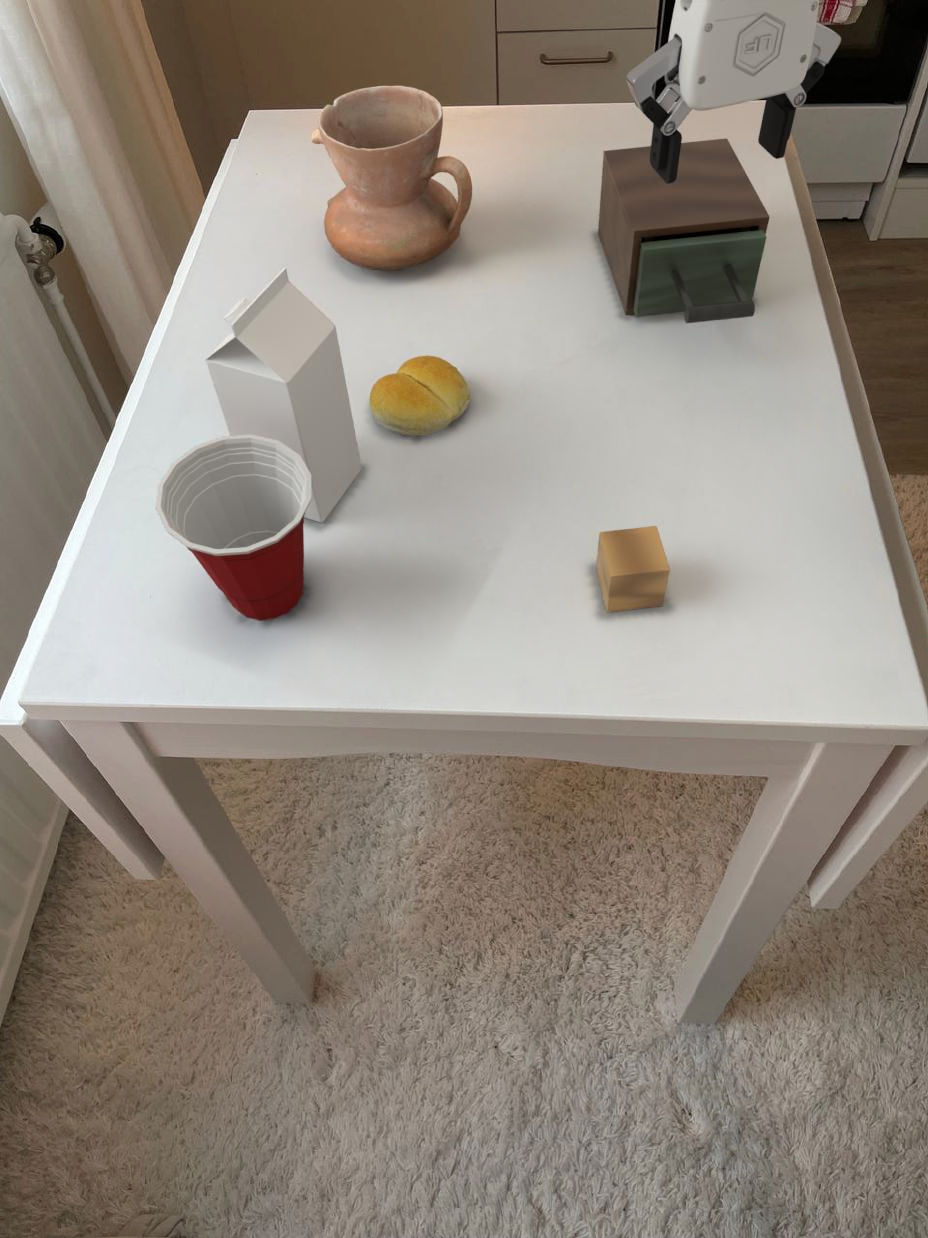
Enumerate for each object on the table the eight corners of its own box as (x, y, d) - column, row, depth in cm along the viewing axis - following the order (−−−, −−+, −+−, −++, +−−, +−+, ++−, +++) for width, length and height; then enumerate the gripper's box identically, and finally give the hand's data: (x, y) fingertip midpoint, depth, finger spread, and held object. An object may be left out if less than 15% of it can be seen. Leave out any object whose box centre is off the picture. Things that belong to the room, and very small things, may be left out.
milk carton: (363, 469, 83) (327, 277, 68) (322, 525, 80) (275, 335, 64) (293, 447, 85) (243, 257, 70) (250, 501, 82) (188, 312, 66)
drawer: (773, 351, 89) (791, 282, 83) (652, 364, 88) (661, 296, 83) (715, 228, 101) (727, 161, 95) (608, 239, 101) (614, 172, 95)
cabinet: (750, 302, 95) (770, 216, 87) (625, 315, 94) (634, 230, 87) (712, 221, 103) (727, 137, 96) (597, 233, 103) (603, 150, 96)
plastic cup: (246, 674, 71) (203, 572, 61) (176, 588, 76) (126, 482, 67) (364, 598, 75) (341, 491, 65) (290, 521, 80) (258, 412, 70)
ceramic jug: (293, 262, 103) (265, 129, 91) (366, 196, 110) (348, 65, 98) (437, 306, 97) (426, 170, 85) (504, 233, 104) (502, 99, 93)
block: (650, 562, 76) (656, 525, 72) (663, 606, 73) (670, 569, 69) (595, 568, 75) (599, 531, 72) (606, 612, 73) (610, 576, 69)
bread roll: (354, 411, 88) (348, 377, 85) (427, 366, 91) (423, 331, 88) (413, 455, 84) (408, 420, 81) (486, 406, 87) (485, 371, 84)
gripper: (666, -42, 61) (639, 208, 75) (903, -87, 64) (835, 162, 78) (619, -81, 66) (601, 162, 79) (842, -122, 68) (788, 121, 82)
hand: (717, 162), depth 78 cm, fingers open, 9 cm apart
